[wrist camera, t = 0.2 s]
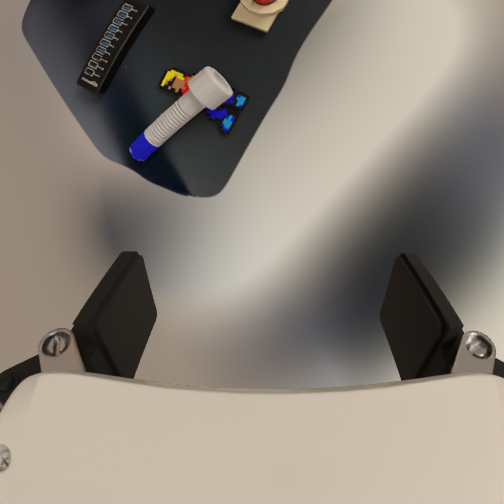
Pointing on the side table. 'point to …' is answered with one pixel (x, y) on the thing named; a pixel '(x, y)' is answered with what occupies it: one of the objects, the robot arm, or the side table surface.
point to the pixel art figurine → (227, 119)
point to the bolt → (183, 111)
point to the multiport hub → (114, 45)
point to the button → (264, 1)
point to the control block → (258, 13)
